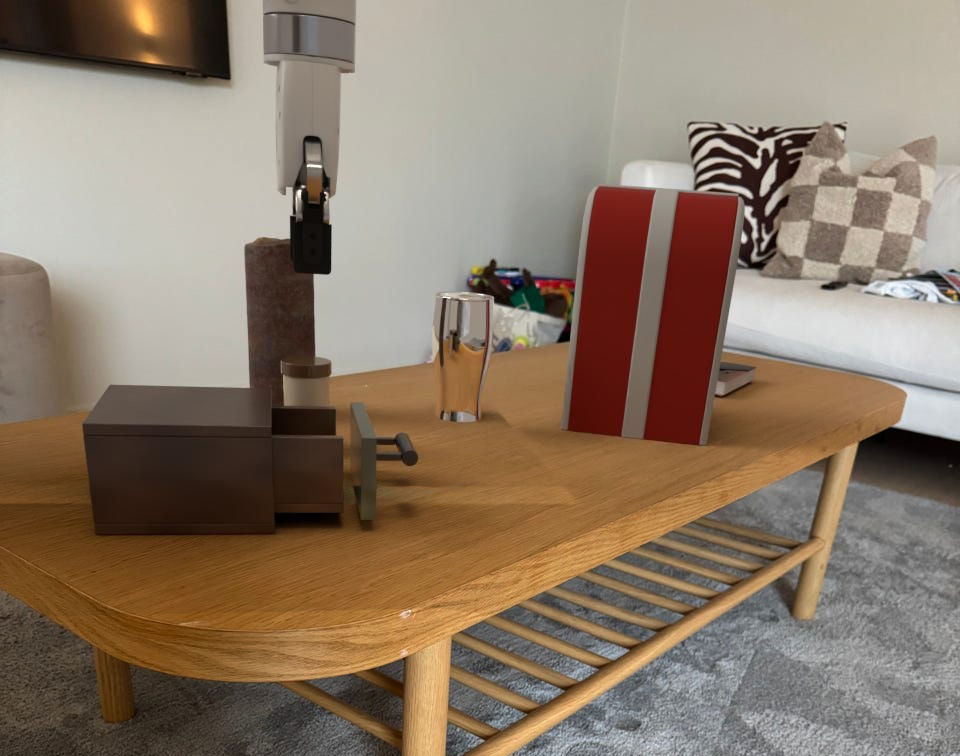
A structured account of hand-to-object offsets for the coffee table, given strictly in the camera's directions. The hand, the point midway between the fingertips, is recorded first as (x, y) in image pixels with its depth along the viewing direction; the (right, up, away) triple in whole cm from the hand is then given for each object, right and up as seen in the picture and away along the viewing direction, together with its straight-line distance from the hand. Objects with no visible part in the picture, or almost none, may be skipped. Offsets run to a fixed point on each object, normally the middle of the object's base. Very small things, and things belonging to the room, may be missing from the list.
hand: (309, 267), depth 87 cm
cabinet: (-9, -22, -4) cm, 25 cm away
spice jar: (-2, -16, +9) cm, 19 cm away
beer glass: (+13, -9, +26) cm, 30 cm away
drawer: (+1, -21, -3) cm, 21 cm away
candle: (-7, -10, +22) cm, 25 cm away
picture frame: (+45, +7, +64) cm, 79 cm away
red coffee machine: (+35, -6, +35) cm, 50 cm away
